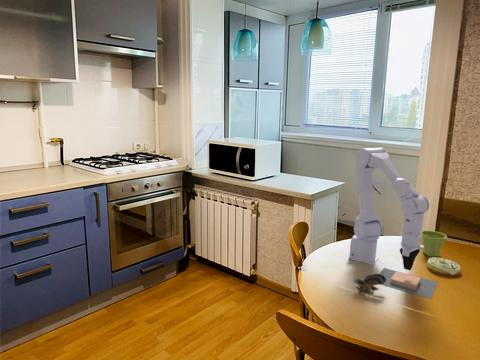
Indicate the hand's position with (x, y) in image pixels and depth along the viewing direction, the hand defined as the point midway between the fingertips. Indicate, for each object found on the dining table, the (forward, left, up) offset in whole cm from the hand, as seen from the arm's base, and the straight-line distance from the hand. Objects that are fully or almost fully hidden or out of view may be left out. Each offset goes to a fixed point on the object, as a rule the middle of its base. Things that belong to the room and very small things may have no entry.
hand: (407, 268), depth 124 cm
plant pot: (+3, +32, -5) cm, 33 cm away
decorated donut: (+9, +18, -5) cm, 21 cm away
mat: (0, -1, -5) cm, 5 cm away
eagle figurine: (-8, -15, -5) cm, 18 cm away
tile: (0, +2, -4) cm, 4 cm away
